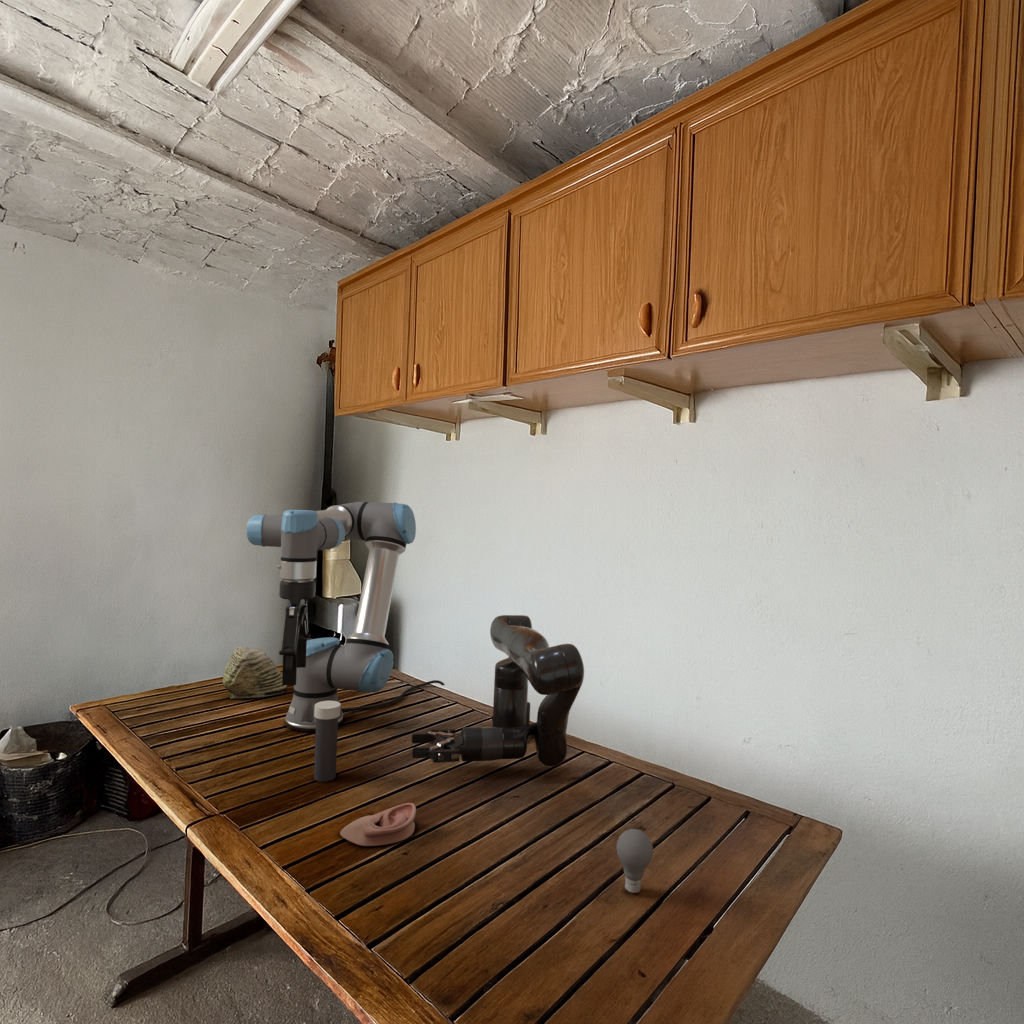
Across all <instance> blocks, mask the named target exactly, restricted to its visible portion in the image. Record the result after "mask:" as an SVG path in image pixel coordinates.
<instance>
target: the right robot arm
mask: <svg viewBox="0 0 1024 1024" xmlns="http://www.w3.org/2000/svg"><path fill="white" fill-rule="evenodd" d="M489 634H490V639H491V642H492V645H493V646H494V648H495V649H496V650H498V651H500V652H502V653H504V654H505V655H506V656H507V657H505V658H503V659H501V660H499V661H497V662H496V663H495V665H494V681H493V686H494V687H493V701H492V702H493V703H492V704H493V705H492V707H493V708H492V716H491V722H492V724H491V725H492V726H469V727H468V726H466V727H465V726H464V727H462V728H461V731H460V734H457V733H456V729H455V728H431V729H430V730H429V731H428V732H414V733H412V734H411V743H412V744H415V745H416V744H431V745H433V746H414V747H413V748H412V751H411V752H412V753H411V754H412V755H411V756H412V758H413V759H429V760H432V763H434V764H439V763H441V764H442V763H456V762H460V759H461V761H462V762H491V761H492V762H493V761H498V760H499V761H500V760H519V759H523V758H525V756H526V754H527V749H528V742H529V741H531V740H532V741H533V740H534V744H535V750H536V751H535V753H536V756H537V760H538V761H539V762H540V763H541V764H542V765H543V766H546V767H549V768H550V767H556V766H559V765H560V764H562V763H563V762H564V761H565V759H566V757H567V755H568V743H567V741H568V740H567V730H568V729H567V728H568V723H569V716H570V712H571V709H572V707H573V704H574V702H575V700H576V699H577V697H578V694H579V692H580V690H581V688H582V686H583V683H584V679H585V666H584V660H583V657H582V655H581V652H580V650H579V649H578V647H577V646H575V644H572V643H562V644H557V645H552V646H550V644H549V641H548V639H547V638H546V637H545V636H544V635H543V634H542V633H540V632H539V631H538V630H536V629H534V628H533V624H532V619H531V618H530V617H529V615H524V614H502V615H497V616H495V617H494V619H493V620H492V621H491V625H490V631H489ZM529 683H530V685H531V687H532V689H534V691H535V692H537V693H538V694H539V695H541V696H545V697H544V698H543V699H542V700H541V702H540V704H539V706H538V708H537V717H536V721H535V722H532V723H531V722H530V721H531V703H530V702H529V701H528V700H529V697H528V696H529Z"/></svg>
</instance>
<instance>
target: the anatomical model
mask: <svg viewBox="0 0 1024 1024" xmlns="http://www.w3.org/2000/svg"><path fill="white" fill-rule="evenodd" d="M416 806H417V805H415V803H413V802H406V803H402V804H398V805H395V806H392V807H390V808H387V809H385V810H382V811H380V812H378V813H375V814H373V815H372V814H371V815H364V816H362V817H359V818H357V819H355V820H353V821H351V822H349V823H348V824H347V825H345V826H344V827H343V828H342V829H341V830H340V832H339V835H340V837H342V838H343V839H345V840H346V841H348V842H349V843H352V844H355V845H357V846H359V847H376V846H384V845H385V846H386V845H389V844H395V843H398V842H401V841H403V840H406V839H408V838H410V837H411V836H412V835H413V833H414V832H415V828H416V823H415V821H414V820H415V819H416V815H417V807H416Z"/></svg>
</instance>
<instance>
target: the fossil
mask: <svg viewBox="0 0 1024 1024" xmlns="http://www.w3.org/2000/svg"><path fill="white" fill-rule="evenodd" d="M222 676H223V677H222V685H223V687H224V688H225V690H226V691H228V693H229V698H230V699H250V698H264V697H271V696H275V695H281V694H284V693H285V691H286V689H287V687H288V685H282V676H283V672H281V669H279V668H278V667H277V665H276V663H275V662H274V660H273V659H272V658H271V657H270V656H269V655H268V654H267V653H266V652H265V650H264V649H263V648H260V647H258V648H251V647H247V646H246V647H245V646H238V647H237V648H236V649H235V650H233V651H232V653H231V656H230V657H229V659H228V660H227V663H226V666H225V668H224V671H223V675H222Z"/></svg>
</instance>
